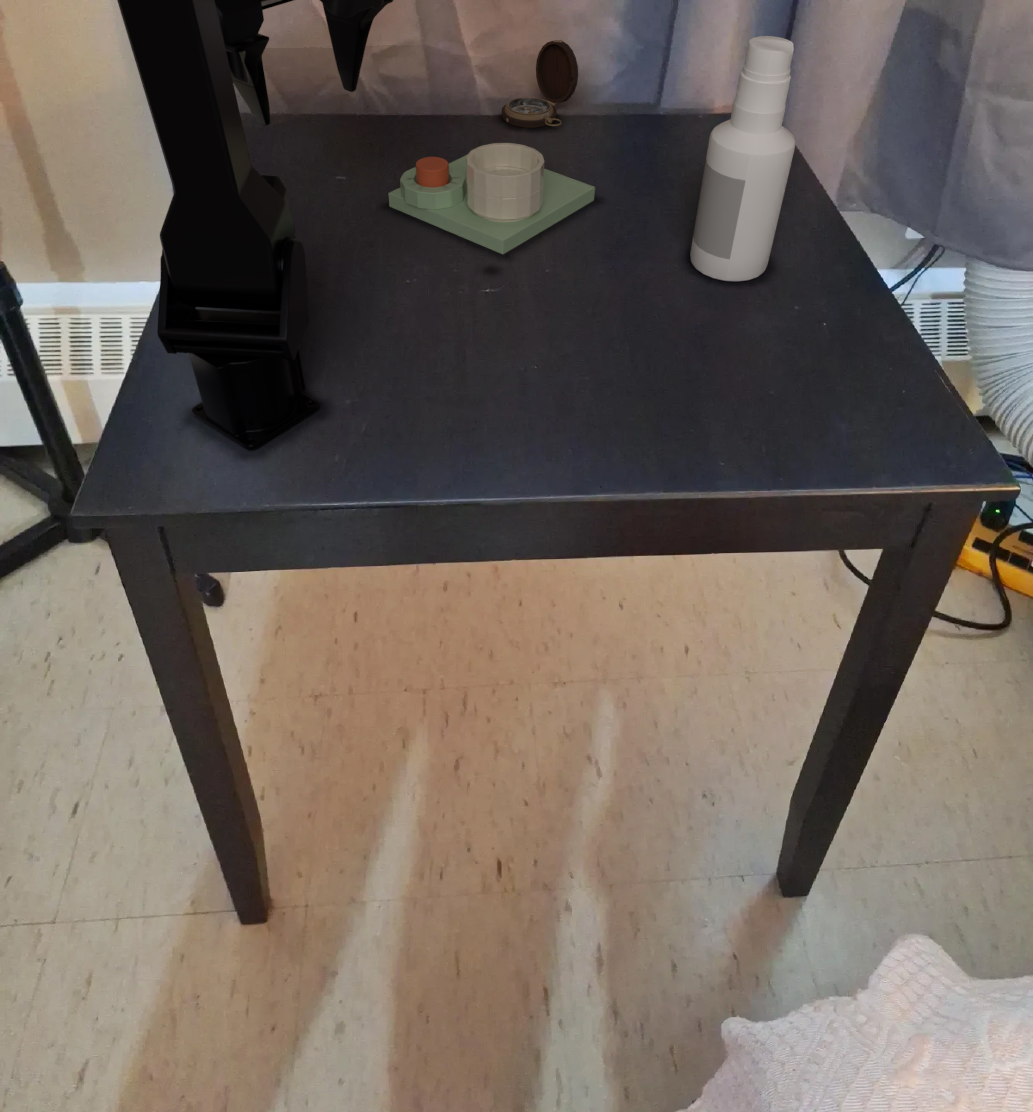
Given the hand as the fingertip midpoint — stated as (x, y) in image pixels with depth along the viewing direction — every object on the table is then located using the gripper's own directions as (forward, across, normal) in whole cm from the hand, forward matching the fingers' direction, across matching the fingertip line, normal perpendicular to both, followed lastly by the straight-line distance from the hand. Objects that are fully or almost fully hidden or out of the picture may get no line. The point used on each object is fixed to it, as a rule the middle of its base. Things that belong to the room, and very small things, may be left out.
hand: (308, 106), depth 75 cm
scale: (+12, +16, -6) cm, 21 cm away
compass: (+12, +35, +3) cm, 37 cm away
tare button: (+9, +12, -2) cm, 15 cm away
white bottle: (+12, +21, -29) cm, 38 cm away
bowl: (+11, +14, -9) cm, 20 cm away
